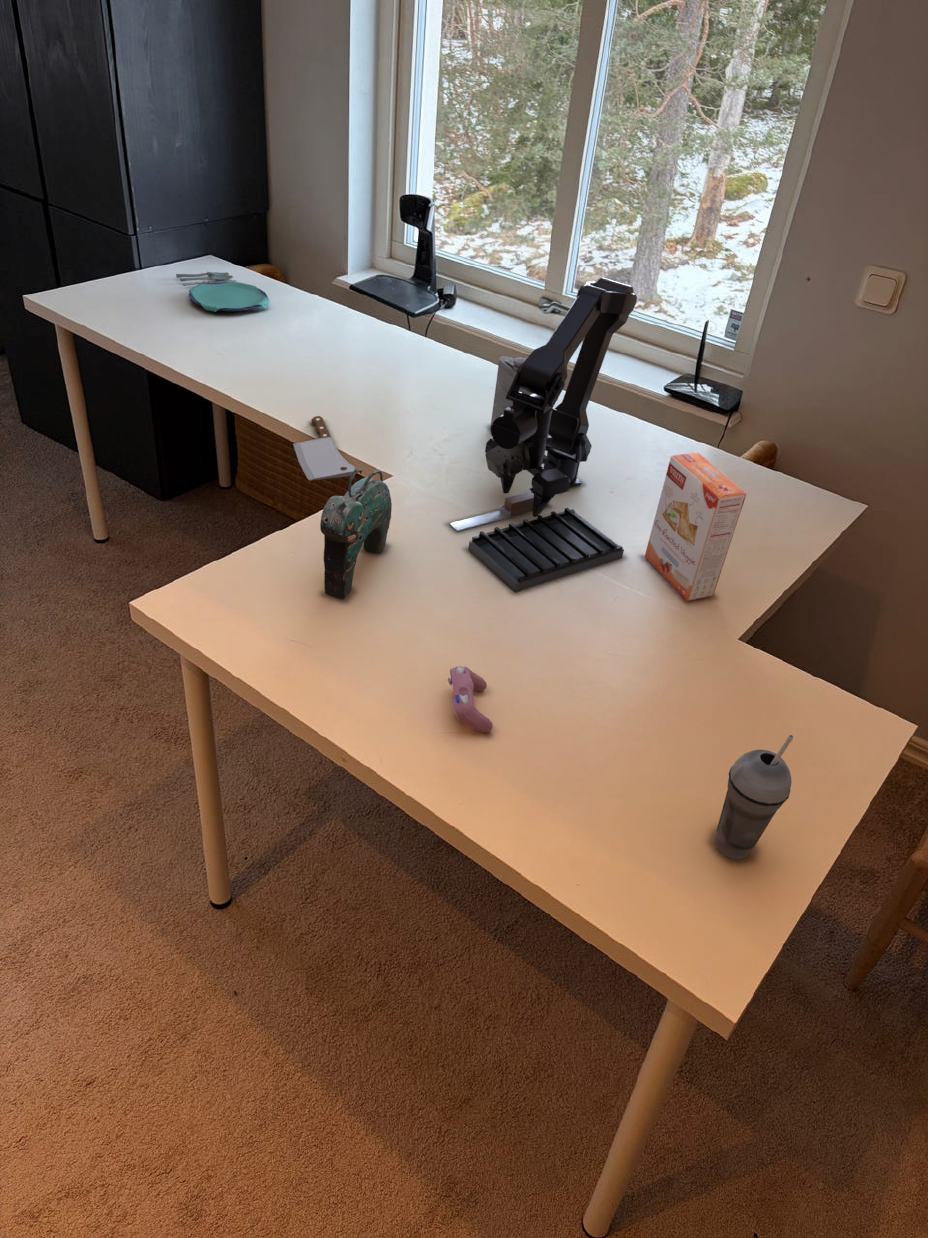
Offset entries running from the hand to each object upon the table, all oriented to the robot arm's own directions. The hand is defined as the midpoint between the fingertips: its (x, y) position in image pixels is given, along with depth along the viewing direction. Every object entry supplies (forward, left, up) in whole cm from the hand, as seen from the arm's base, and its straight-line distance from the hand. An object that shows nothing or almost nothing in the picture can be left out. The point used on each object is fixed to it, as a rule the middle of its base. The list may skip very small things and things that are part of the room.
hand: (520, 504), depth 178 cm
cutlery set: (+8, -121, -1) cm, 122 cm away
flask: (-16, -24, -1) cm, 29 cm away
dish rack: (+4, +14, -1) cm, 15 cm away
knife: (+4, 0, -1) cm, 5 cm away
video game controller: (+39, +41, -1) cm, 57 cm away
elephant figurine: (+37, +4, -1) cm, 38 cm away
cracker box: (-13, +30, -1) cm, 32 cm away
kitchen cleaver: (+23, -36, -1) cm, 43 cm away
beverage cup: (+23, +77, -1) cm, 81 cm away
